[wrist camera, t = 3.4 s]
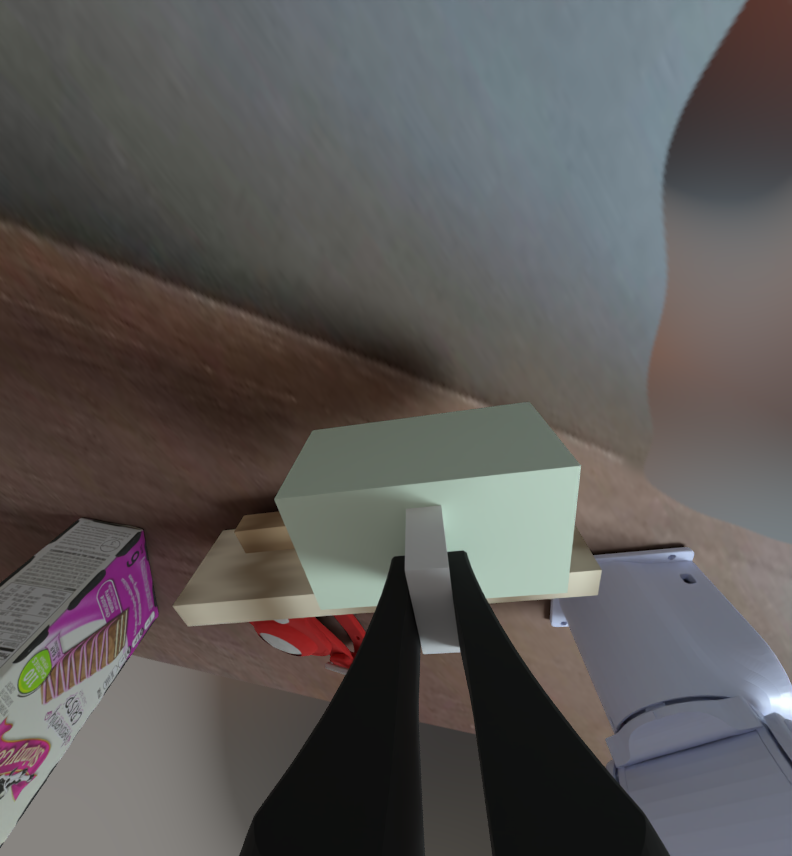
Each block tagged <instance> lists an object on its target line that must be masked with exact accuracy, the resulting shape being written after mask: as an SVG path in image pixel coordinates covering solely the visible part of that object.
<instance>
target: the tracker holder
mask: <svg viewBox="0 0 792 856" xmlns="http://www.w3.org/2000/svg"><path fill="white" fill-rule="evenodd" d="M333 616H334V617H335V618H336V619H337V621H338V622H339V623H340V624H341V625H342V627H343V628H344V629H345V630H346V631H347V633H348V635H349V636H350V638H351V640H352V641H353V645H354V652H351V651H349V649H348V648H347V647H346V646H345V645H344V644H343V643H342V642H341V641H340V640H339V639H338V638H337V637H336V636H335V635H334V634H333V633H332V632H331V631H329V630H328V629H327V628H326V627H325V626H324V625H323V624H322V623H321V622H320V621H318V620H317V619H316V618H315V617H305V618H292V619H278V620H265V621H252V622H249V623H250V624H252V625H253V626H254V628H255V630H256V632H257V633H258V635H259V636H260V637H261V638H262V639H263V640H264V641H265V642H267V643H268V644H270V645H271V646H273V647H275V648H277V649H279V650H281V651H283V652H286V653H288V654H291V655H295V656H308V655H316V656H326V655H330V656H331V657H330V661H331V662H328V663H326V666H325V667H326V668H327V669H330V670H333V671H335V672H338V673H341V674H344V675H346V673H347V671H348V670H349V668H350V666H351V664H352V662H353V660H354V658H355V656H356V654H357V651H358V649H359V647H360V645H361V643H362V641H363V638H364V636H365V634H366V632H365V631H364V629H363V627H362V626H361V624H360V623H359V622H358V620H357V619H356V617H355V616H354V615H353V614H344V615H333Z"/></svg>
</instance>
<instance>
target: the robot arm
mask: <svg viewBox="0 0 792 856" xmlns="http://www.w3.org/2000/svg"><path fill="white" fill-rule="evenodd" d="M447 555H448V563H449V571H450V580H451V588H452V595H453V603H454V610H455V618H456V625H457V633H458V640H459V646H460V651H461V656H462V660H463V665H464V670H465V675H466V680H467V685H468V689H469V694H470V699H471V705H472V711H473V716H474V723H475V731H476V738H477V745H478V752H479V760H480V767H481V775H482V782H483V789H484V796H485V804H486V811H487V819H488V826H489V834H490V841H491V848H492V856H792V685H791V683H790V680H789V678H788V676H787V674H786V672H785V670H784V668H783V667H782V665H781V663H780V661H779V660H778V658H777V657H776V655H775V654H774V652H773V651H772V650H771V648H770V647H769V646H768V644H767V643H766V642H765V641H764V639H763V638H762V637H761V636H760V635H759V634H758V633H757V632H756V630H755V629H754V628H753V627H752V626H751V625H750V624H749V623H748V622H747V621H746V619H745V618H744V617H743V616H742V615H741V614H740V613H739V612H738V611H737V610H736V608H735V607H734V606H733V605H732V604H731V603H730V602H729V601H728V600H727V599H726V597H725V596H724V595H723V594H722V593H721V592H720V591H719V590H718V589H717V588H716V587H715V585H714V584H713V583H712V582H711V581H710V580H709V579H708V578H707V577H706V576H705V574H704V573H703V572H702V571H701V570H700V569H699V568H698V567H697V566H696V565H695V563H694V562H693V561H692V559H693V557H694V552H693V551H692V550H691V549H690V548H688V547H679V548H668V549H657V550H646V551H635V552H623V553H612V554H601V555H593V556H594V558H595V559H596V561H597V563H598V564H599V566H600V568H601V569H602V572H601V579H600V585H599V591H598V595H594V596H581V597H568V598H555V599H551V609H550V622H551V625H552V626H554V627H565V626H569V628H570V630H571V633H572V635H573V637H574V640H575V642H576V644H577V647H578V649H579V651H580V654H581V656H582V658H583V661H584V663H585V666H586V668H587V670H588V673H589V675H590V677H591V680H592V682H593V684H594V687H595V689H596V692H597V694H598V696H599V699H600V701H601V703H602V706H603V708H604V710H605V713H606V715H607V717H608V720H609V722H610V725H611V727H612V729H613V732H614V734H615V735H613V736H610V737H608V738H606V739H605V740H606V743H607V745H608V748H609V750H610V753H611V755H612V758H613V760H610V761H609V762H608V763H607V765H606V768H605V767H604V766H603V765H602V763H601V762H600V761H599V760H598V758H597V757H596V756H595V755H594V754H593V752H592V751H591V750H590V749H589V748H588V746H587V745H586V744H585V743H584V741H583V740H582V739H581V738H580V737H579V735H578V734H577V733H576V731H575V730H574V729H573V728H572V726H571V725H570V724H569V722H568V721H567V720H566V719H565V717H564V716H563V715H562V713H561V712H560V711H559V709H558V708H557V707H556V706H555V704H554V703H553V702H552V700H551V699H550V698H549V696H548V695H547V694H546V692H545V691H544V690H543V688H542V687H541V685H540V684H539V683H538V681H537V680H536V678H535V677H534V676H533V674H532V673H531V671H530V670H529V668H528V667H527V665H526V664H525V662H524V661H523V660H522V658H521V656H520V655H519V653H518V652H517V650H516V649H515V647H514V646H513V644H512V643H511V641H510V639H509V638H508V636H507V634H506V633H505V631H504V629H503V628H502V626H501V624H500V623H499V621H498V619H497V618H496V616H495V614H494V612H493V610H492V608H491V607H490V605H489V603H488V601H487V599H486V597H485V595H484V593H483V591H482V589H481V587H480V585H479V583H478V581H477V579H476V577H475V574H474V572H473V569H472V567H471V564H470V561H469V558H468V555H467V552H465V551H464V550H462V551H450V552H447ZM420 648H421V642H420V637H419V633H418V628H417V624H416V619H415V615H414V610H413V606H412V602H411V597H410V593H409V588H408V584H407V579H406V575H405V556H394V557H393V558H392V560H391V564H390V568H389V572H388V575H387V579H386V582H385V585H384V588H383V591H382V594H381V597H380V599H379V602H378V605H377V607H376V610H375V612H374V615H373V618H372V620H371V622H370V625H369V627H368V629H367V632H366V634H365V636H364V638H363V641H362V643H361V645H360V647H359V649H358V651H357V654H356V656H355V658H354V660H353V662H352V664H351V666H350V668H349V670H348V671H347V673H346V675H345V677H344V679H343V681H342V683H341V685H340V686H339V688H338V690H337V692H336V693H335V695H334V697H333V699H332V700H331V702H330V704H329V706H328V707H327V709H326V711H325V713H324V714H323V716H322V718H321V719H320V721H319V722H318V724H317V725H316V727H315V729H314V730H313V732H312V733H311V735H310V736H309V738H308V740H307V741H306V742H305V744H304V745H303V747H302V749H301V750H300V752H299V753H298V755H297V756H296V758H295V759H294V761H293V762H292V764H291V765H290V767H289V768H288V769H287V771H286V772H285V774H284V775H283V776H282V778H281V779H280V781H279V782H278V783H277V785H276V786H275V788H274V789H273V790H272V792H271V793H270V795H269V796H268V797H267V799H266V800H265V801H264V803H263V804H262V806H261V807H260V808H259V810H258V811H257V813H256V814H255V816H254V818H253V820H252V823H251V825H250V828H249V830H248V833H247V836H246V838H245V841H244V844H243V847H242V850H241V852H240V855H239V856H425V848H424V828H423V810H422V789H421V768H420V767H421V766H420V741H419V677H420Z"/></svg>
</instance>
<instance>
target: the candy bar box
mask: <svg viewBox="0 0 792 856" xmlns="http://www.w3.org/2000/svg"><path fill="white" fill-rule="evenodd" d="M158 615H159V613H158V608H157V604H156V598H155V592H154V587H153V582H152V576H151V570H150V565H149V559H148V554H147V549H146V542H145V537H144V531H143V529H140V528H137V527H133V526H128V525H120V524H114V523H108V522H103V521H98V520H93V519H87V518H80V519H78V520H77V521H76V522H75V523H74V524H72V525H71V526H70V527H69V528H68V529H66V530H65V531H64V532H63V533H61V534H60V535H59V536H58V537H56V538H55V539H54V540H53V541H51V542H50V543H49V544H48V545H47V546H45V547H44V548H43V549H41V550H40V551H39V552H38V553H37V554H35V555H34V556H33V557H32V558H30V559H29V560H28V561H27V562H26V563H25V564H23V565H22V566H21V567H20V568H18V569H17V570H16V571H15V572H13V573H12V574H11V575H10V576H9V577H7V578H6V579H5V580H4V581H2V582H1V583H0V848H1V846H2V845H3V843H4V842H5V840H6V839H7V837H8V836H9V834H10V833H11V831H12V830H13V829H14V827H15V826H16V824H17V822H18V821H19V819H20V818H21V817H22V815H23V814H24V812H25V811H26V809H27V808H28V806H29V805H30V803H31V802H32V800H33V799H34V797H35V796H36V795H37V793H38V792H39V790H40V789H41V787H42V786H43V784H44V783H45V782H46V780H47V778H48V777H49V775H50V774H51V772H52V771H53V769H54V768H55V767H56V765H57V764H58V762H59V761H60V759H61V758H62V756H63V755H64V753H65V752H66V751H67V749H68V747H69V746H70V744H71V743H72V741H73V740H74V738H75V736H76V735H77V734H78V732H79V731H80V729H81V728H82V726H83V725H84V723H85V722H86V721H87V719H88V717H89V716H90V714H91V713H92V712H93V711H94V709H95V708H96V706H97V705H98V703H99V702H100V700H101V699H102V697H103V695H104V694H105V693H106V691H107V690H108V688H109V687H110V685H111V684H112V682H113V681H114V679H115V678H116V676H117V675H118V674H119V672H120V671H121V669H122V668H123V666H124V665H125V663H126V662H127V660H128V659H129V658H130V656H131V655H132V653H133V652H134V650H135V649H136V647H137V646H138V644H139V643H140V641H141V640H142V639H143V637H144V636H145V634H146V633H147V631H148V630H149V628H150V627H151V626H152V624H153V623H154V621H155V620H156V618H157V617H158Z"/></svg>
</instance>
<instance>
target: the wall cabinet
mask: <svg viewBox="0 0 792 856" xmlns="http://www.w3.org/2000/svg"><path fill="white" fill-rule="evenodd" d="M580 469H581V465H580V464H579V463H578V462H577V460H576V459H575V458H574V457H573V455H572V454H571V453H570V452H569V450H568V449H567V448H566V447H565V445H564V444H563V443H562V442H561V440H560V439H559V438H558V437H557V435H556V434H555V433H554V432H553V430H552V429H551V428H550V427H549V425H548V424H547V423H546V422H545V421H544V419H543V418H542V417H541V416H540V414H539V413H538V412H537V411H536V409H535V408H534V407H533V406H532V404H531V403H530V402H524V403H517V404H509V405H501V406H494V407H486V408H479V409H471V410H464V411H456V412H449V413H441V414H433V415H426V416H418V417H411V418H403V419H396V420H388V421H381V422H373V423H365V424H358V425H350V426H343V427H335V428H328V429H320V430H313V431H312V432H311V434H310V436H309V438H308V439H307V441H306V443H305V445H304V447H303V448H302V450H301V452H300V454H299V456H298V457H297V459H296V461H295V463H294V465H293V466H292V468H291V470H290V472H289V473H288V475H287V477H286V479H285V481H284V482H283V484H282V486H281V488H280V490H279V491H278V493H277V495H276V497H275V498H274V500H275V503H276V505H277V508H278V510H279V512H280V515H281V517H282V519H283V522H284V524H285V526H286V529H287V531H288V533H289V536H290V538H291V541H292V543H293V545H294V548H295V550H296V552H297V555H298V557H299V559H300V562H301V564H302V566H303V569H304V571H305V574H306V576H307V578H308V581H309V583H310V585H311V588H312V590H313V592H314V595H315V597H316V600H317V602H318V604H319V607H320V609H321V610H326V609H341V608H355V607H370V606H377V605H378V602H379V599H380V597H381V594H382V591H383V588H384V585H385V582H386V579H387V575H388V572H389V568H390V564H391V560H392V558H393V557H394V556H405V575H406V579H407V584H408V588H409V593H410V597H411V602H412V606H413V610H414V615H415V619H416V624H417V628H418V633H419V637H420V642H421V646H422V651H423V654H435V653H455V652H460V647H459V640H458V633H457V625H456V618H455V610H454V603H453V595H452V588H451V580H450V571H449V563H448V555H447V552H450V551H462V550H464V551H465V552H467V555H468V558H469V561H470V564H471V567H472V569H473V572H474V574H475V577H476V579H477V581H478V583H479V585H480V587H481V589H482V591H483V593H484V595H485V597H486V598H500V597H514V596H529V595H543V594H558V593H567V592H568V582H569V573H570V563H571V554H572V545H573V535H574V526H575V516H576V507H577V497H578V488H579V479H580Z"/></svg>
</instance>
